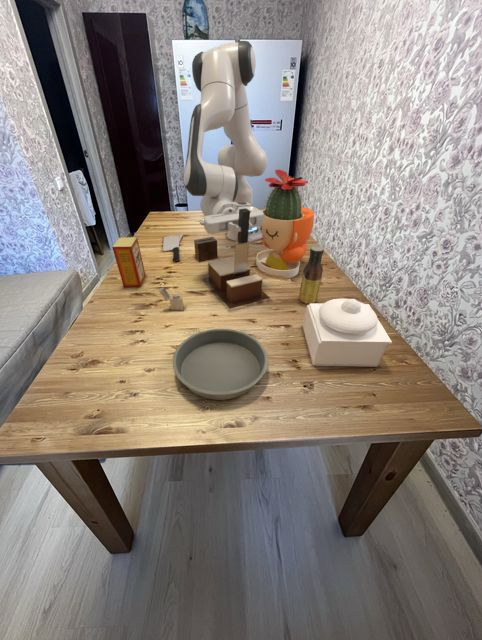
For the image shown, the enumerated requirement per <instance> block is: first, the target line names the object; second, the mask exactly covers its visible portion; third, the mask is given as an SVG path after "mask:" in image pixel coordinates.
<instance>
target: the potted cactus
mask: <svg viewBox="0 0 482 640" xmlns="http://www.w3.org/2000/svg"><path fill="white" fill-rule="evenodd" d="M274 173H275V175H276V176H277V177H278V178H279V179H280V180H281V181H280V180H278V179H277V178H276V177H268V178H265V179H264V181H265V182H267V183H269V184H268V187H269V188H271V189H270V192H268V195H269V196H268V197H267V199H266V200H265V201H264V202H265V205H264V209H263V210H261V211H262V212H263V213H264V223H263V225H260V230H261V233H262V237H263V238H262V239H263V240H262V245H263V246H264V247H265V248H267V249H265V250H261V251H260V252H258V253H257V254H256V257H255V264H256V267H257V268H258V269H259V270H260V271H263V272H264V273H266V274H269V275H272V276H277V277H283V279H292V278H294V277H296V276H297V275H298V274H299V270H300V266H301V265H300V264H301V262H300V261H301V260H302V259H303V258H304V256H305V254H306V252H307V250H308V249H307V248H308V245H307V242H308V240H309V238H310V237H311V235H312V231H313V228H314V223H315V214H314V213H315V212H314V211H313V210H312V209H311V208H307V207H304V205H303V203H304V200H303V198H302V197H301V196H302V193H301V190H299V188H298V187H305V186H306V184H308V183H309V181H307V180H304V177H302V176H299V177H296V178H295V177H294V176H293V177H291V175H288V172H287V171H285V170H283V169H279V168H278V169H275V170H274ZM261 262H262V263H261ZM263 263H264V264H263ZM266 265H267V266H266Z"/></svg>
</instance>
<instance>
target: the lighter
mask: <svg viewBox="0 0 482 640" xmlns="http://www.w3.org/2000/svg"><path fill="white" fill-rule="evenodd" d="M158 292H159V293H160V295H161V297H162V298H163V299H164V300H165V301H168V300H169V305H170V310H171V311H183V310H184V309H185V307H184V299H183V296H180V295H179V294H172V296H170V294H169V293H168V291H167V290H166V289H165V287H160V288H159V289H158Z"/></svg>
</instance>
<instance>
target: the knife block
mask: <svg viewBox="0 0 482 640" xmlns="http://www.w3.org/2000/svg"><path fill="white" fill-rule="evenodd" d="M193 245H194V256H195V259H196V260H197V261H198V262H199V263H200V262H205V261H210V260H216V259H218V258H219V255H218V254H219V253H218V240H217V239H216V238H215V237H214V236H208V237H204V238H198V239H197V238H196V239H194V240H193Z"/></svg>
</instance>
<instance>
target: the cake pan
mask: <svg viewBox="0 0 482 640" xmlns="http://www.w3.org/2000/svg"><path fill="white" fill-rule="evenodd" d="M268 367H269V357H268V352H267V351H266V349H265V347H264V346H263V344H262V343H261V342H260V341H259V340H258V339H257V338H255V337H254V336H252V335H250V334H248V333H246V332H244V331H241V330H238V329H232V328H211V329H206V330H203V331H199V332H197V333H194V334H192V335H190V336H188V337H187V338H186V339H184V340H183V341H182V342H180V344H179V345H178V346H177V347H176V349H175V351H174V354H173V357H172V369H173V373H174V374H175V377H176V378H177V379H178V381H180V382H181V383H182V384H183V385H184V386H185V387H186V388H187V389H188V390H189V391H191V392H192V393H193V394H195V395H197V396H199V397H202V398H204V399H207V400H215V401H216V400H217V401H222V400H223V401H225V400H231V399H235V398H237V397H241V396H242V395H244V394H247V393H248V392H249V391H250V390H252V389H253V388H254V386H255V385H256V384H257V383H258V382H260V380H262V378H263V377H264V376H265V374H266V372H267V370H268Z"/></svg>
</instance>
